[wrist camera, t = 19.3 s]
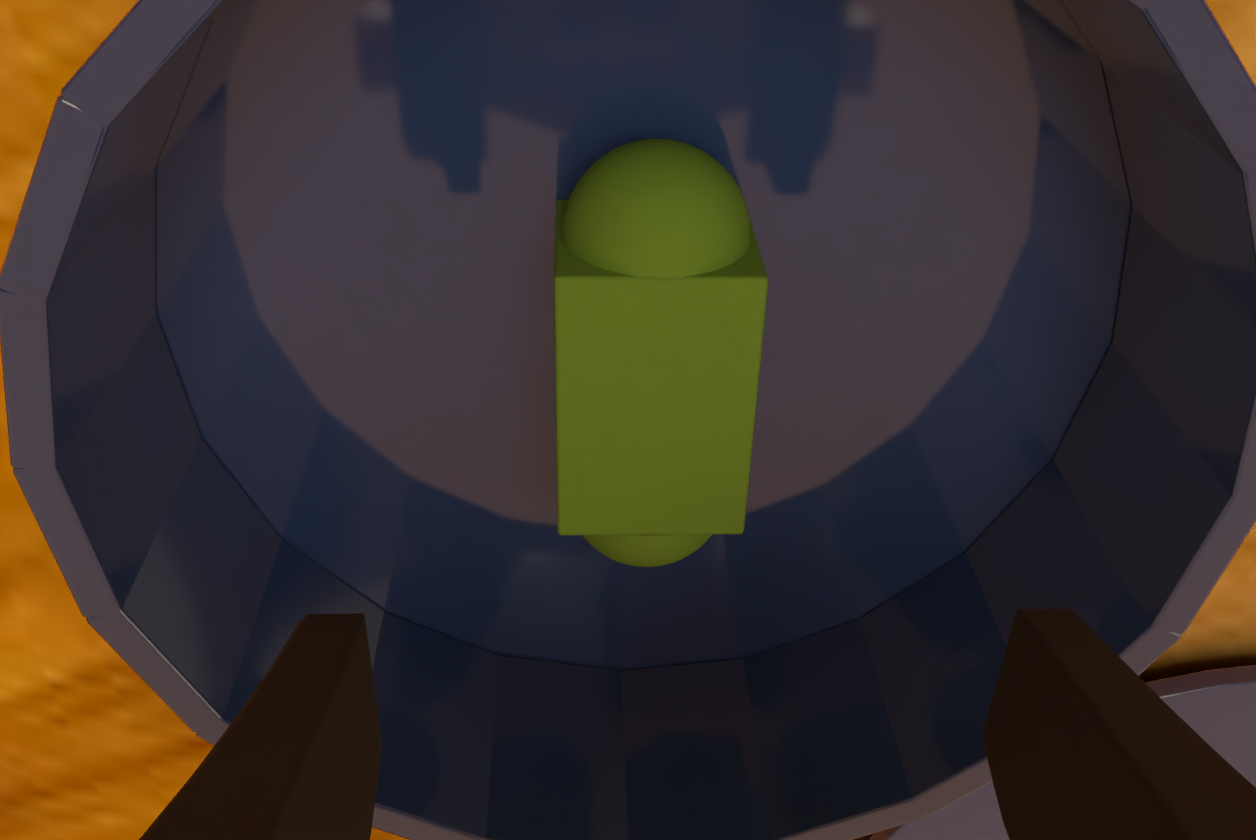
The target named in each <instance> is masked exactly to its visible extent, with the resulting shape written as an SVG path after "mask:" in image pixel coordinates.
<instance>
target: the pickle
mask: <svg viewBox="0 0 1256 840" xmlns="http://www.w3.org/2000/svg"><path fill="white" fill-rule="evenodd" d="M768 281H769V280H768V276H767V273H766V270H765V267H764V263H763V260H762V257H761V254H760V250H759V247H758V244H757V241H756V237H755V234H754V231H753V228H752V224H751V221H750V218H749V214H748V210H747V206H746V202H745V200H744V198H743V195H742V193H741V191H740V189H739V187H738V185H737V183H736V182H735V180H734V179H733V177H732V176H731V175H730V174H729V172H728V171H727V170H726V169H725V167H724V166H722V165H721V164H720V163H719V162H718V161H717V160H715V159H714V158H713V157H711V156H710V155H709V154H708V153H706V152H704V151H703V150H701V149H698V148H696V147H694V146H691V145H689V144H687V143H684V142H681V141H677V140H672V139H660V138H652V139H642V140H637V141H633V142H630V143H627V144H624V145H622V146H619V147H617V148H614V149H612V150H611V151H609V152H608V153H607V154H605V155H604V156H602V157H601V158H599V159H598V160H596V161H595V162H594V163H593V164H592V165H591V166H590V167H589V168H588V169H587V171H586V172H585V173H584V174H583V175H582V176H581V178H580V179H579V180H578V182H577V184H576V186H575V187H574V189H573V191H572V192H571V194H570V197H569V199H560V200H557V203H556V225H555V257H554V331H555V401H556V471H557V532H558V533H559V535H582V536H583V537H584V538H585V539H586V541H587V542H588V543H589V544H590V545H591V546H592V547H594V548H595V549H596V550H598V551H599V552H601V553H602V554H603V555H605V556H606V557H608V558H610V559H612V560H614V561H617V562H620V563H623V564H626V565H632V566H638V567H655V566H663V565H667V564H671V563H674V562H677V561H679V560H681V559H683V558H685V557H686V556H688V555H690V554H691V553H693V552H695V551H697V550H698V549H699V548H700V547H701V546H702V545H703V544H704V543H705V542H706V541H707V540H708V539H709V538H710V537H711V536H712V534H742V533H743V531H744V526H745V516H746V506H747V496H748V485H749V475H750V465H751V455H752V445H753V434H754V424H755V414H756V404H757V394H758V383H759V373H760V363H761V353H762V343H763V332H764V322H765V312H766V302H767V291H768Z"/></svg>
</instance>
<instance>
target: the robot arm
mask: <svg viewBox="0 0 1256 840" xmlns="http://www.w3.org/2000/svg"><path fill="white" fill-rule="evenodd" d="M982 738H983V742H984V746H985V751H986V755H987V759H988V764H989V768H990V772H991V777H992V781H993V785H994V789H995V793H996V797H997V801H998V804H999V808H1000V812H1001V816H1002V820H1003V823H1004V826H1005V829H1006V831H1007V834H1008V837H1009V840H1256V787H1255V786H1253V785H1252V784H1251V783H1250V782H1249V781H1248V780H1247V779H1246V778H1245V777H1243V776H1242V775H1241V774H1240V773H1239V772H1238V771H1237V770H1236V769H1235V768H1234V767H1232V766H1231V765H1230V764H1229V763H1228V762H1227V761H1226V760H1225V759H1224V758H1223V757H1222V756H1220V755H1219V754H1218V753H1217V752H1216V751H1215V750H1214V749H1213V748H1212V747H1211V746H1210V745H1209V744H1208V743H1207V742H1206V741H1204V740H1203V739H1202V738H1201V737H1200V736H1199V735H1198V734H1197V733H1196V732H1195V731H1194V730H1193V729H1192V728H1191V727H1190V726H1189V725H1188V724H1187V723H1186V722H1185V721H1184V720H1183V719H1182V718H1180V717H1179V716H1178V715H1177V714H1176V713H1175V712H1174V711H1173V710H1172V709H1171V708H1170V707H1169V706H1168V705H1167V704H1166V703H1165V702H1164V701H1163V700H1162V699H1161V698H1160V697H1159V696H1158V695H1157V694H1156V693H1155V692H1154V691H1153V690H1152V689H1151V688H1150V687H1149V686H1148V685H1147V684H1146V683H1145V682H1144V681H1143V680H1142V679H1141V678H1140V677H1139V676H1138V675H1137V674H1136V673H1135V672H1134V671H1133V670H1132V669H1131V668H1130V667H1129V666H1128V665H1127V664H1126V663H1125V662H1124V661H1123V660H1122V659H1121V658H1120V657H1119V656H1118V655H1117V654H1116V653H1115V652H1114V651H1113V650H1112V649H1111V648H1110V647H1109V646H1108V645H1107V644H1106V643H1105V642H1104V641H1103V640H1102V639H1101V638H1100V637H1099V636H1098V635H1097V634H1096V633H1095V632H1094V631H1093V630H1092V629H1091V628H1090V627H1089V626H1088V625H1087V624H1086V623H1085V622H1084V621H1083V620H1082V619H1081V618H1080V617H1079V616H1078V615H1077V614H1076V613H1075V612H1074V611H1073V610H1072V609H1017V611H1016V614H1015V618H1014V622H1013V625H1012V629H1011V633H1010V636H1009V640H1008V643H1007V647H1006V651H1005V654H1004V658H1003V661H1002V665H1001V669H1000V672H999V676H998V680H997V683H996V687H995V690H994V694H993V698H992V701H991V705H990V709H989V712H988V716H987V719H986V723H985V727H984V730H983V734H982ZM381 747H382V739H381V731H380V724H379V717H378V710H377V702H376V695H375V688H374V680H373V673H372V666H371V659H370V651H369V644H368V637H367V629H366V622H365V615H364V613H351V614H307V615H306V616H305V617H304V618H303V619H301V620H300V621H299V622H298V624H297V626H296V627H295V629H294V630H293V632H292V634H291V635H290V637H289V639H288V640H287V642H286V643H285V645H284V646H283V648H282V650H281V651H280V653H279V654H278V656H277V657H276V659H275V660H274V662H273V664H272V665H271V667H270V668H269V670H268V671H267V673H266V674H265V676H264V677H263V679H262V680H261V682H260V683H259V684H258V686H257V687H256V689H255V690H254V692H253V693H252V695H251V696H250V697H249V699H248V700H247V702H246V703H245V705H244V706H243V708H242V709H241V710H240V712H239V713H238V715H237V716H236V717H235V719H234V720H233V721H232V723H231V724H230V725H229V727H228V728H227V730H226V731H225V732H224V734H223V735H222V736H221V738H220V739H219V740H218V742H217V743H216V744H215V746H214V747H213V748H212V750H211V751H210V752H209V754H208V755H207V757H206V758H205V759H204V761H203V762H202V763H201V765H200V766H199V767H198V768H197V770H196V771H195V772H194V774H193V775H192V776H191V777H190V779H189V780H188V781H187V782H186V784H185V785H184V786H183V787H182V788H181V790H180V791H179V792H178V793H177V795H176V796H175V797H174V798H173V799H172V801H171V802H170V803H169V804H168V805H167V807H166V808H165V809H164V810H163V811H162V813H161V814H160V815H159V816H158V818H157V819H156V820H155V821H154V822H153V824H152V825H151V826H150V827H149V828H148V830H147V831H146V832H145V833H144V835H143V836H142V837H141V838H140V839H139V840H369V839H370V835H371V830H372V822H373V815H374V807H375V799H376V791H377V782H378V773H379V765H380V756H381Z"/></svg>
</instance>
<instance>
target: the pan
mask: <svg viewBox="0 0 1256 840" xmlns="http://www.w3.org/2000/svg"><path fill="white" fill-rule="evenodd" d="M652 138H660V139H672V140H677V141H681V142H684V143H687V144H689V145H691V146H694V147H696V148H698V149H701V150H703V151H704V152H706V153H708V154H709V155H710V156H711V157H713V158H714V159H715V160H717V161H718V162H719V163H720V164H721V165H722V166H724V167H725V169H726V170H727V171H728V172H729V174H730V175H731V176H732V177H733V179H734V180H735V182H736V183H737V185H738V187H739V189H740V191H741V193H742V195H743V198H744V200H745V202H746V206H747V210H748V214H749V218H750V221H751V224H752V228H753V231H754V234H755V237H756V241H757V244H758V247H759V250H760V254H761V257H762V260H763V263H764V267H765V270H766V273H767V276H768V280H769V281H768V291H767V302H766V312H765V322H764V332H763V343H762V353H761V363H760V373H759V383H758V394H757V404H756V414H755V424H754V434H753V445H752V455H751V465H750V475H749V485H748V496H747V506H746V516H745V526H744V531H743V533H742V534H712V536H711V537H710V538H709V539H708V540H707V541H706V542H705V543H704V544H703V545H702V546H701V547H700V548H699V549H698V550H697V551H695V552H693V553H691V554H690V555H688V556H686V557H685V558H683V559H681V560H679V561H677V562H674V563H671V564H667V565H663V566H655V567H638V566H632V565H626V564H623V563H620V562H617V561H614V560H612V559H610V558H608V557H606V556H605V555H603V554H602V553H601V552H599V551H598V550H596V549H595V548H594V547H592V546H591V545H590V544H589V543H588V542H587V541H586V539H585V538H584V537H583V536H582V535H559V533H558V532H557V471H556V401H555V331H554V257H555V225H556V203H557V200H560V199H569V197H570V194H571V192H572V191H573V189H574V187H575V186H576V184H577V182H578V180H579V179H580V178H581V176H582V175H583V174H584V173H585V172H586V171H587V169H588V168H589V167H590V166H591V165H592V164H593V163H594V162H595V161H596V160H598V159H599V158H601V157H602V156H604V155H605V154H607V153H608V152H609V151H611V150H612V149H614V148H617V147H619V146H622V145H624V144H627V143H630V142H633V141H637V140H642V139H652ZM0 342H1V354H2V365H3V377H4V389H5V400H6V412H7V424H8V436H9V447H10V459H11V465H12V467H13V473H14V475H15V477H16V479H17V481H18V483H19V486H20V488H21V490H22V492H23V494H24V496H25V498H26V500H27V502H28V504H29V506H30V508H31V510H32V512H33V514H34V516H35V518H36V521H37V523H38V525H39V527H40V529H41V531H42V533H43V535H44V537H45V539H46V541H47V543H48V545H49V547H50V549H51V551H52V554H53V556H54V558H55V560H56V562H57V564H58V566H59V568H60V570H61V572H62V574H63V576H64V578H65V580H66V582H67V584H68V586H69V589H70V591H71V593H72V595H73V597H74V599H75V601H76V603H77V605H78V607H79V609H80V611H81V613H82V615H83V616H84V617H86V620H87V622H88V623H89V624H90V625H91V626H92V627H93V629H94V630H95V631H96V632H97V633H98V634H99V635H100V636H101V637H102V638H103V639H104V640H105V641H106V642H107V643H108V644H109V645H110V646H111V647H112V648H113V649H114V650H115V651H116V652H117V653H118V654H119V656H120V657H121V658H122V659H123V660H124V661H125V662H126V663H127V664H128V665H129V666H130V667H131V668H132V669H133V670H134V671H135V672H136V673H137V674H138V675H139V676H140V677H141V678H142V679H143V680H144V681H145V682H146V684H147V685H148V686H149V687H150V688H151V689H152V690H153V691H154V692H155V693H156V694H157V695H158V696H159V697H160V698H161V699H162V700H163V701H164V702H165V703H166V704H167V705H168V706H169V707H170V708H171V709H172V711H173V712H174V713H175V714H176V715H177V716H178V717H179V718H180V719H181V720H182V721H183V722H184V723H185V724H186V725H187V726H188V727H189V728H190V729H191V730H192V731H193V732H196V735H197V736H198V737H200V738H202V739H203V740H205V741H207V742H208V743H210V744H212V745H213V746H215V744H216V743H217V742H218V740H219V739H220V738H221V736H222V735H223V734H224V732H225V731H226V730H227V728H228V727H229V725H230V724H231V723H232V721H233V720H234V719H235V717H236V716H237V715H238V713H239V712H240V710H241V709H242V708H243V706H244V705H245V703H246V702H247V700H248V699H249V697H250V696H251V695H252V693H253V692H254V690H255V689H256V687H257V686H258V684H259V683H260V682H261V680H262V679H263V677H264V676H265V674H266V673H267V671H268V670H269V668H270V667H271V665H272V664H273V662H274V660H275V659H276V657H277V656H278V654H279V653H280V651H281V650H282V648H283V646H284V645H285V643H286V642H287V640H288V639H289V637H290V635H291V634H292V632H293V630H294V629H295V627H296V626H297V624H298V622H299V621H300V620H301V619H303V618H304V617H305V616H306V615H307V614H351V613H364V615H365V622H366V629H367V637H368V644H369V651H370V659H371V666H372V673H373V680H374V688H375V695H376V702H377V710H378V717H379V724H380V731H381V739H382V747H381V756H380V765H379V773H378V782H377V791H376V799H375V807H374V815H373V822H372V828H375V829H378V830H382V831H385V832H388V833H391V834H394V835H397V836H400V837H404V838H407V839H410V840H853V839H856V838H860V837H863V836H866V835H870V834H873V833H876V832H880V831H883V830H886V829H889V828H893V827H896V826H899V825H903V824H906V823H909V822H913V821H916V820H919V819H923V818H925V817H926V815H927V816H929V815H932V814H933V813H935V812H937V811H939V810H941V809H943V808H944V807H946V806H948V805H950V804H952V803H954V802H955V801H957V800H959V799H961V798H963V797H965V796H966V795H968V794H970V793H972V792H974V791H976V790H977V789H979V788H981V787H983V786H985V785H987V784H988V783H990V782H992V777H991V772H990V768H989V764H988V759H987V755H986V751H985V746H984V742H983V738H982V734H983V730H984V727H985V723H986V719H987V716H988V712H989V709H990V705H991V701H992V698H993V694H994V690H995V687H996V683H997V680H998V676H999V672H1000V669H1001V665H1002V661H1003V658H1004V654H1005V651H1006V647H1007V643H1008V640H1009V636H1010V633H1011V629H1012V625H1013V622H1014V618H1015V614H1016V611H1017V609H1072V610H1073V611H1074V612H1075V613H1076V614H1077V615H1078V616H1079V617H1080V618H1081V619H1082V620H1083V621H1084V622H1085V623H1086V624H1087V625H1088V626H1089V627H1090V628H1091V629H1092V630H1093V631H1094V632H1095V633H1096V634H1097V635H1098V636H1099V637H1100V638H1101V639H1102V640H1103V641H1104V642H1105V643H1106V644H1107V645H1108V646H1109V647H1110V648H1111V649H1112V650H1113V651H1114V652H1115V653H1116V654H1117V655H1118V656H1119V657H1120V658H1121V659H1122V660H1123V661H1124V662H1125V663H1126V664H1127V665H1128V666H1129V667H1130V668H1131V669H1132V670H1133V671H1134V672H1135V673H1136V674H1137V675H1138V676H1139V675H1140V674H1141V673H1142V672H1143V671H1144V670H1145V669H1147V668H1148V667H1149V666H1150V665H1151V664H1152V663H1153V662H1154V661H1155V660H1157V659H1158V658H1159V657H1160V656H1161V655H1162V654H1163V653H1164V652H1165V651H1167V650H1168V649H1169V648H1170V647H1171V646H1172V645H1173V644H1174V643H1176V642H1177V641H1178V640H1179V639H1180V638H1181V634H1183V633H1184V632H1185V631H1186V630H1187V628H1188V626H1189V625H1190V623H1191V622H1192V620H1193V619H1194V617H1195V616H1196V614H1197V612H1198V611H1199V609H1200V608H1201V606H1202V605H1203V603H1204V602H1205V600H1206V598H1207V597H1208V595H1209V594H1210V592H1211V591H1212V589H1213V588H1214V586H1215V585H1216V583H1217V581H1218V580H1219V578H1220V577H1221V575H1222V574H1223V572H1224V571H1225V569H1226V567H1227V566H1228V564H1229V563H1230V561H1231V560H1232V558H1233V557H1234V555H1235V553H1236V552H1237V550H1238V549H1239V547H1240V546H1241V544H1242V543H1243V541H1244V539H1245V538H1246V536H1247V535H1248V533H1249V532H1250V530H1251V529H1252V527H1253V525H1254V524H1255V522H1256V85H1255V83H1254V82H1253V80H1252V78H1251V77H1250V75H1249V73H1248V72H1247V70H1246V68H1245V66H1244V65H1243V63H1242V61H1241V60H1240V58H1239V56H1238V55H1237V53H1236V51H1235V50H1234V48H1233V46H1232V44H1231V43H1230V41H1229V39H1228V38H1227V36H1226V34H1225V33H1224V31H1223V29H1222V28H1221V26H1220V24H1219V23H1218V21H1217V19H1216V17H1215V16H1214V14H1213V12H1212V11H1211V9H1210V7H1209V6H1208V4H1207V2H1206V1H1205V0H138V1H137V2H136V4H135V5H134V6H133V7H132V8H131V9H130V11H129V12H128V13H127V14H126V15H125V16H124V17H123V19H122V20H121V21H120V22H119V23H118V24H117V26H116V27H115V28H114V29H113V30H112V31H111V32H110V34H109V35H108V36H107V37H106V38H105V39H104V41H103V42H102V43H101V44H100V45H99V46H98V47H97V49H96V50H95V51H94V52H93V53H92V54H91V55H90V57H89V58H88V59H87V60H86V61H85V62H84V64H83V65H82V66H81V67H80V68H79V69H78V70H77V72H76V73H75V74H74V75H73V76H72V77H71V79H70V80H69V81H68V82H67V83H66V84H65V85H64V87H63V88H62V90H61V95H60V96H58V97H57V100H56V103H55V106H54V109H53V112H52V115H51V118H50V121H49V124H48V127H47V130H46V133H45V136H44V140H43V143H42V146H41V149H40V152H39V155H38V158H37V161H36V164H35V167H34V170H33V173H32V176H31V179H30V183H29V186H28V189H27V192H26V195H25V198H24V201H23V204H22V207H21V210H20V213H19V216H18V219H17V222H16V226H15V229H14V232H13V235H12V238H11V241H10V244H9V247H8V250H7V253H6V256H5V259H4V262H3V265H2V269H1V272H0Z"/></svg>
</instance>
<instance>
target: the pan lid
mask: <svg viewBox="0 0 1256 840" xmlns="http://www.w3.org/2000/svg"><path fill="white" fill-rule="evenodd" d="M1146 684H1147V685H1148V686H1149V687H1150V688H1151V689H1152V690H1153V691H1154V692H1155V693H1156V694H1157V695H1158V696H1159V697H1160V698H1161V699H1162V700H1163V701H1164V702H1165V703H1166V704H1167V705H1168V706H1169V707H1170V708H1171V709H1172V710H1173V711H1174V712H1175V713H1176V714H1177V715H1178V716H1179V717H1180V718H1182V719H1183V720H1184V721H1185V722H1186V723H1187V724H1188V725H1189V726H1190V727H1191V728H1192V729H1193V730H1194V731H1195V732H1196V733H1197V734H1198V735H1199V736H1200V737H1201V738H1202V739H1203V740H1204V741H1206V742H1207V743H1208V744H1209V745H1210V746H1211V747H1212V748H1213V749H1214V750H1215V751H1216V752H1217V753H1218V754H1219V755H1220V756H1222V757H1223V758H1224V759H1225V760H1226V761H1227V762H1228V763H1229V764H1230V765H1231V766H1232V767H1234V768H1235V769H1236V770H1237V771H1238V772H1239V773H1240V774H1241V775H1242V776H1243V777H1245V778H1246V779H1247V780H1248V781H1249V782H1250V783H1251V784H1252V785H1253V786H1255V787H1256V665H1248V666H1239V667H1230V668H1220V669H1211V670H1205V671H1200V672H1195V673H1190V674H1184V675H1179V676H1174V677H1169V678H1164V679H1159V680H1154V681H1150V682H1146ZM869 840H1009V837H1008V834H1007V831H1006V829H1005V826H1004V823H1003V820H1002V816H1001V812H1000V808H999V804H998V801H997V797H996V793H995V789H994V785H993V781H992V782H990V783H988V784H987V785H985V786H983V787H981V788H979V789H977V790H976V791H974V792H972V793H970V794H968V795H966V796H965V797H963V798H961V799H959V800H957V801H955V802H954V803H952V804H950V805H948V806H946V807H944V808H943V809H941V810H939V811H937V812H935V813H933V814H932V815H929V816H927V815H926V817H925V818H923V819H919V820H916V821H913V822H909V823H906V824H903V825H899V826H896V827H893V828H889V829H886V830H883V831H880V832H876V833H874V834H873V835H872V836H871V837H870V839H869Z"/></svg>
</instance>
